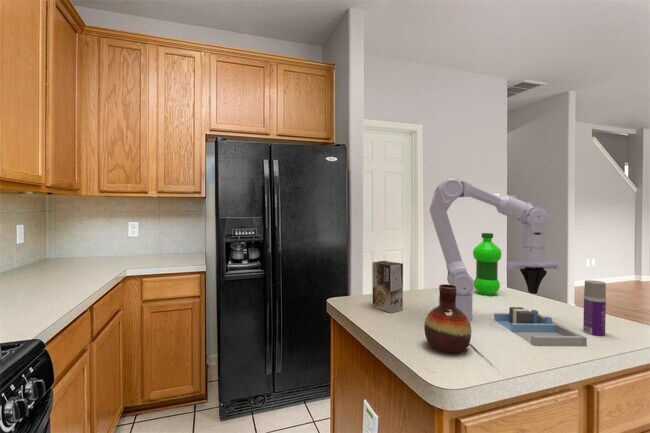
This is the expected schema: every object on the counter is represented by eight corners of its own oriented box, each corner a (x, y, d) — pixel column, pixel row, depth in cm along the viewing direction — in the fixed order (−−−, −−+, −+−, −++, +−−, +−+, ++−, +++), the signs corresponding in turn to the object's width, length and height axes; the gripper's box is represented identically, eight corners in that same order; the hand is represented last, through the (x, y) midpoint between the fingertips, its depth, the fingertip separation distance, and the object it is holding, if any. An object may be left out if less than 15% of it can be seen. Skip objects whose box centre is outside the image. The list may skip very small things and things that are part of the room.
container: (606, 341, 89) (607, 284, 88) (584, 337, 91) (585, 282, 91) (603, 335, 93) (604, 281, 92) (582, 332, 95) (583, 279, 95)
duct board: (533, 349, 83) (533, 331, 83) (494, 322, 102) (494, 308, 102) (586, 349, 83) (586, 331, 83) (536, 323, 102) (537, 308, 102)
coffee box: (403, 310, 115) (404, 263, 115) (390, 313, 111) (390, 265, 111) (384, 304, 123) (385, 260, 122) (371, 306, 119) (371, 261, 119)
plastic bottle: (481, 289, 146) (482, 232, 145) (505, 294, 137) (506, 233, 137) (467, 292, 141) (468, 233, 140) (491, 298, 132) (492, 234, 131)
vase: (434, 335, 92) (434, 279, 92) (476, 346, 85) (477, 285, 84) (416, 348, 83) (417, 286, 83) (462, 361, 76) (463, 293, 76)
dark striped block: (520, 329, 94) (520, 313, 94) (508, 322, 100) (509, 306, 100) (534, 329, 94) (534, 313, 94) (521, 322, 100) (521, 307, 100)
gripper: (516, 248, 95) (515, 296, 96) (567, 249, 95) (566, 296, 96) (503, 246, 102) (502, 290, 103) (551, 246, 102) (550, 290, 103)
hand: (532, 293), depth 100 cm, fingers closed
